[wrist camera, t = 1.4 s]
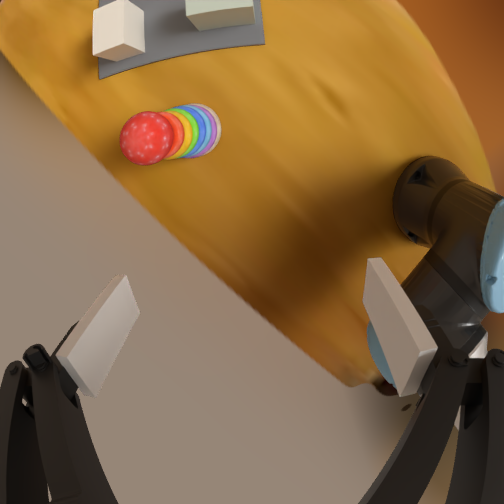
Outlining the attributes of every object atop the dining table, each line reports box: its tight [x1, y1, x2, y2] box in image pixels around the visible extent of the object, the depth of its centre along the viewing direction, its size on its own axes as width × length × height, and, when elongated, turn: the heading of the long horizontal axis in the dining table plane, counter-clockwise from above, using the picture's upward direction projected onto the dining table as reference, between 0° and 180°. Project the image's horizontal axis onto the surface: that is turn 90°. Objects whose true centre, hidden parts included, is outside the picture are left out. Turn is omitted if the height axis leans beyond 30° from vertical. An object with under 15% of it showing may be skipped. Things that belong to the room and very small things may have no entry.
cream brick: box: [93, 0, 145, 62], centre depth 26 cm, size 8×5×7 cm, turn 5°
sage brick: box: [185, 0, 256, 31], centre depth 25 cm, size 8×5×7 cm, turn 95°
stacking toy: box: [120, 103, 221, 165], centre depth 29 cm, size 8×8×19 cm
